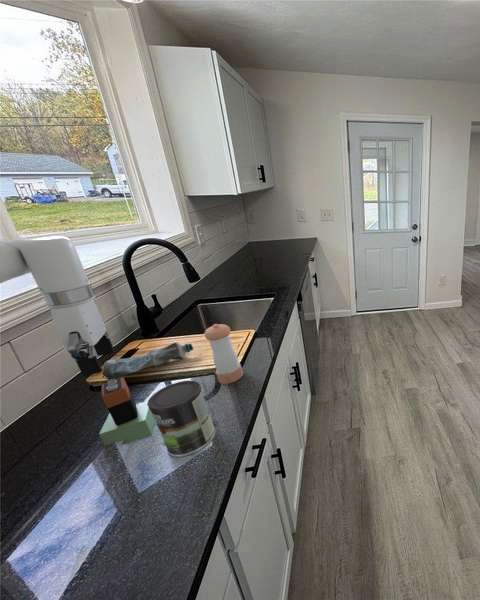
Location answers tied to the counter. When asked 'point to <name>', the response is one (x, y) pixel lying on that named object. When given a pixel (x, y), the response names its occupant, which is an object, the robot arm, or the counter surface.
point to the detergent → (144, 360)
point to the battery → (119, 401)
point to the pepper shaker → (223, 354)
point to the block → (129, 427)
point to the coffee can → (182, 418)
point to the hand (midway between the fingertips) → (100, 363)
